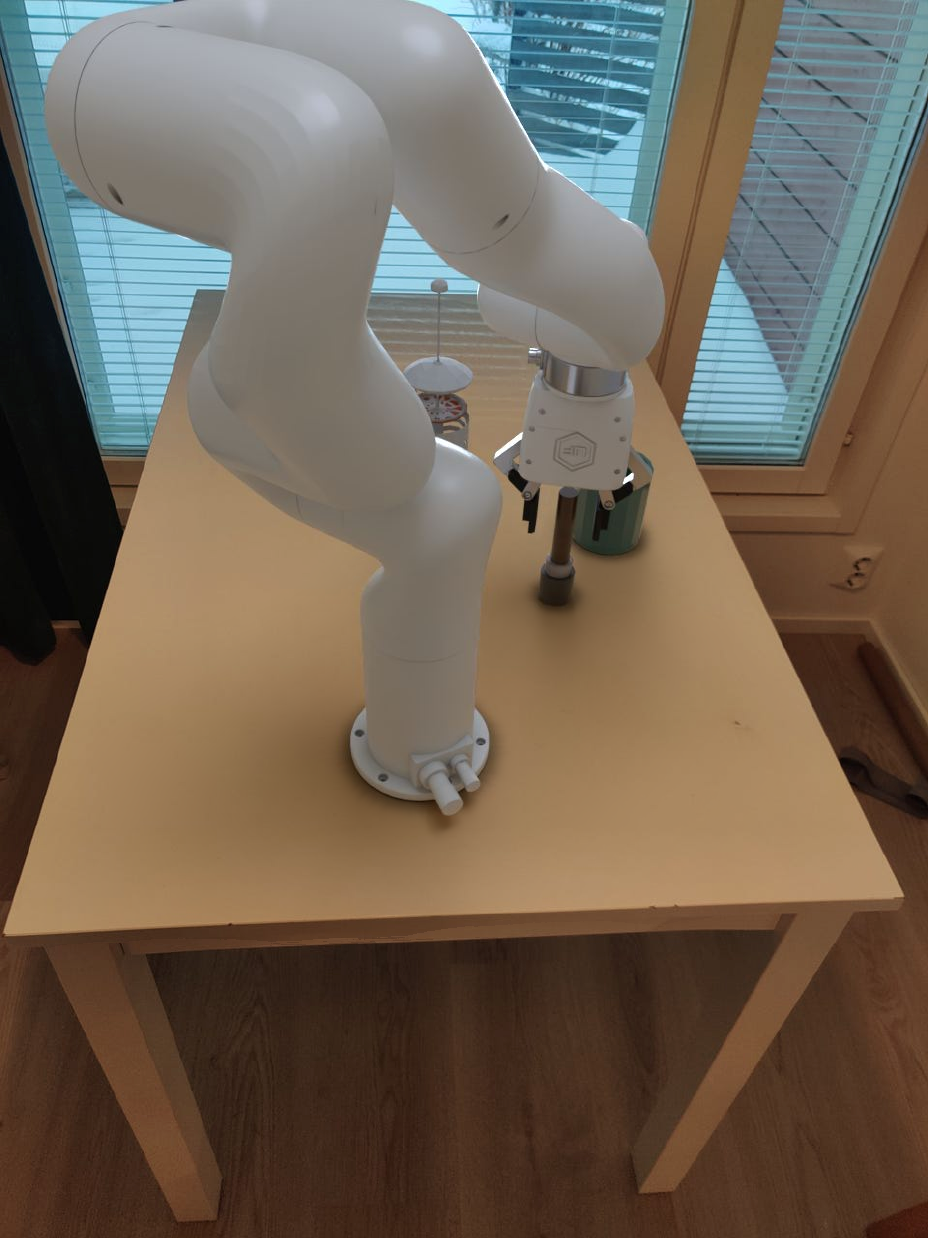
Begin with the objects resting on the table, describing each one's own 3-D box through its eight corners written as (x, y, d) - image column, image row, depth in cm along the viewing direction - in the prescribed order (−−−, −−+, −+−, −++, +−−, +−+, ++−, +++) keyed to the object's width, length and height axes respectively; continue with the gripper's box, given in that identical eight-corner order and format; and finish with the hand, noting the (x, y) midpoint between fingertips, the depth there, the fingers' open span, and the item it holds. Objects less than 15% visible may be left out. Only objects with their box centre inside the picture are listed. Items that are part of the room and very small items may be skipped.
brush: (578, 595, 101) (594, 492, 92) (557, 610, 99) (571, 507, 90) (552, 579, 103) (566, 477, 94) (531, 594, 101) (543, 491, 92)
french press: (421, 505, 112) (423, 305, 95) (376, 458, 119) (369, 265, 102) (490, 482, 116) (502, 286, 99) (442, 439, 123) (446, 249, 106)
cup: (652, 544, 108) (667, 475, 102) (594, 562, 105) (606, 492, 99) (614, 507, 113) (626, 439, 107) (558, 523, 110) (567, 454, 104)
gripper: (484, 376, 81) (475, 541, 93) (684, 398, 79) (648, 562, 91) (494, 338, 86) (484, 498, 98) (682, 357, 85) (648, 517, 97)
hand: (564, 527), depth 95 cm, fingers open, 5 cm apart
